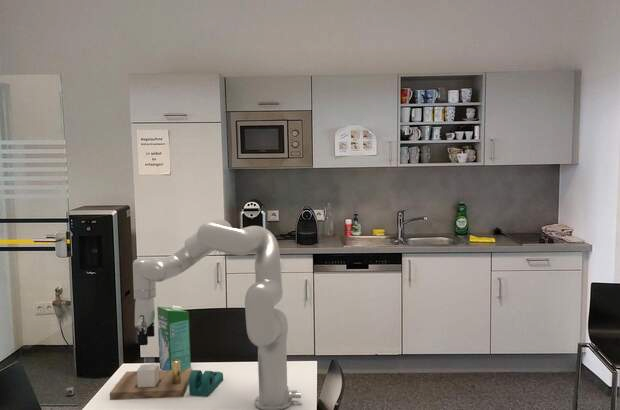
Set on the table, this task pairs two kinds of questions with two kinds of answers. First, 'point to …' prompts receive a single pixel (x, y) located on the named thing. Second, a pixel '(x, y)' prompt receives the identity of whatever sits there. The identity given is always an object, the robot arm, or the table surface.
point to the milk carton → (173, 337)
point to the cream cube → (148, 375)
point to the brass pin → (176, 371)
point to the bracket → (204, 382)
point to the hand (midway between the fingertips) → (146, 340)
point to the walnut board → (163, 388)
